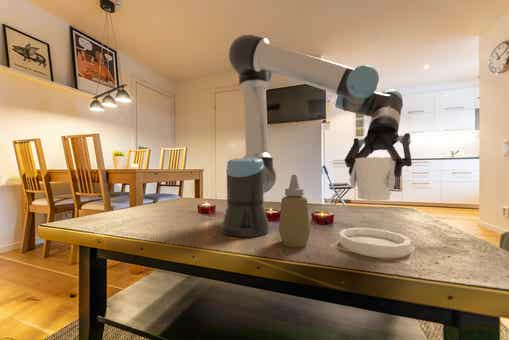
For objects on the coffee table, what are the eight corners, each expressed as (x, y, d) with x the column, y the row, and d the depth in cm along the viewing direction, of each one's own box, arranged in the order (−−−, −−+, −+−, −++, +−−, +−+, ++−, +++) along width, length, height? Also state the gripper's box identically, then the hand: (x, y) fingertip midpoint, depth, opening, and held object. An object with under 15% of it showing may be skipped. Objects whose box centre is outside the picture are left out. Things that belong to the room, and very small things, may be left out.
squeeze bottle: (316, 244, 57) (315, 174, 57) (301, 253, 51) (300, 175, 51) (288, 238, 62) (288, 174, 63) (272, 245, 56) (272, 175, 56)
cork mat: (329, 248, 54) (329, 246, 54) (348, 235, 64) (348, 234, 64) (409, 266, 43) (409, 264, 43) (415, 247, 54) (415, 246, 54)
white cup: (398, 201, 49) (397, 156, 49) (360, 200, 51) (359, 157, 51) (384, 197, 57) (384, 158, 57) (352, 196, 59) (351, 159, 59)
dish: (330, 247, 53) (330, 237, 53) (350, 234, 65) (350, 225, 65) (406, 264, 43) (405, 251, 43) (413, 245, 55) (413, 234, 55)
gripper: (428, 132, 60) (426, 198, 48) (350, 140, 73) (332, 192, 61) (427, 109, 56) (424, 173, 44) (344, 121, 69) (324, 173, 57)
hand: (370, 184), depth 52 cm, fingers closed on white cup, 8 cm apart
